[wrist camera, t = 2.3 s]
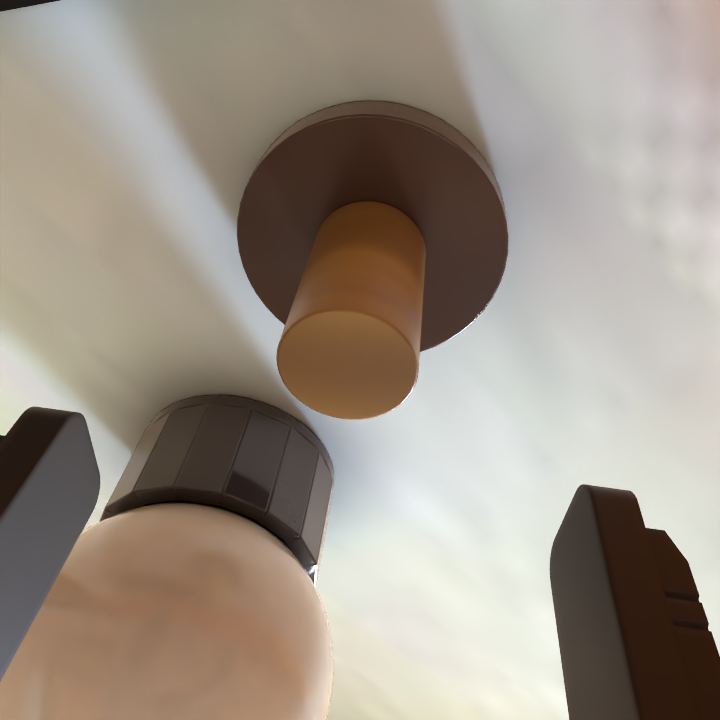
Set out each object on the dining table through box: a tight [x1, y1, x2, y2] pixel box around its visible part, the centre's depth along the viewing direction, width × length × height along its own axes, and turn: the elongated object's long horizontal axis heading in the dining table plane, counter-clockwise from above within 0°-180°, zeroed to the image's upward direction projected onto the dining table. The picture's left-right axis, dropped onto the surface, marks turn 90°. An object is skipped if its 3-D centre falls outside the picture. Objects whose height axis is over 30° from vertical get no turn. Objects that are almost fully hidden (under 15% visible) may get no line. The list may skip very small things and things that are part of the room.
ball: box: [0, 502, 334, 720], centre depth 18 cm, size 9×9×9 cm
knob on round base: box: [237, 101, 508, 419], centre depth 15 cm, size 7×7×6 cm
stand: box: [99, 395, 334, 587], centre depth 22 cm, size 7×7×4 cm
